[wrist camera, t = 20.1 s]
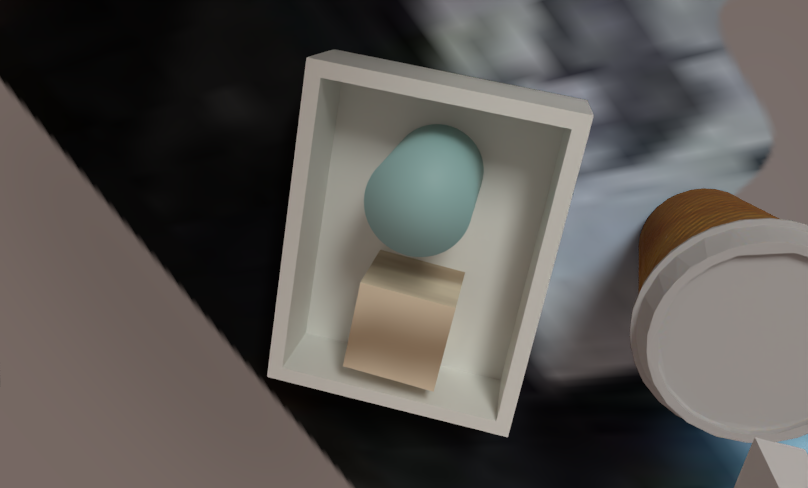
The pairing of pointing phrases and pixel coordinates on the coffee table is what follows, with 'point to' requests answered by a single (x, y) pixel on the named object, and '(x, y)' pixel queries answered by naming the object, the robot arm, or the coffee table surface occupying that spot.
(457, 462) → the coffee table surface
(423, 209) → the teal capsule
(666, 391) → the disposable coffee cup
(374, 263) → the beech cube
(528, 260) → the tote
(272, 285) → the coffee table surface
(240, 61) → the coffee table surface
